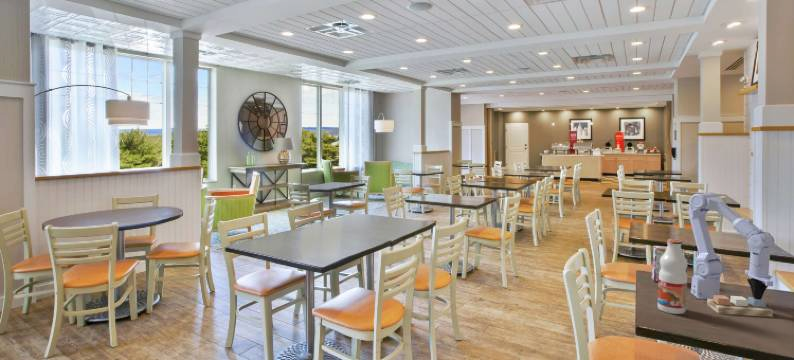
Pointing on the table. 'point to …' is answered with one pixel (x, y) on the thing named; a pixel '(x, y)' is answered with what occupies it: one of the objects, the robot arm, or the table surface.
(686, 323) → the table surface
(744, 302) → the off-white key
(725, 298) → the terracotta key
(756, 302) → the slate blue key
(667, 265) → the fruit juice
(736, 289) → the table surface
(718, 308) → the light wood flat board
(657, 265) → the candy bar box
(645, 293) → the table surface
